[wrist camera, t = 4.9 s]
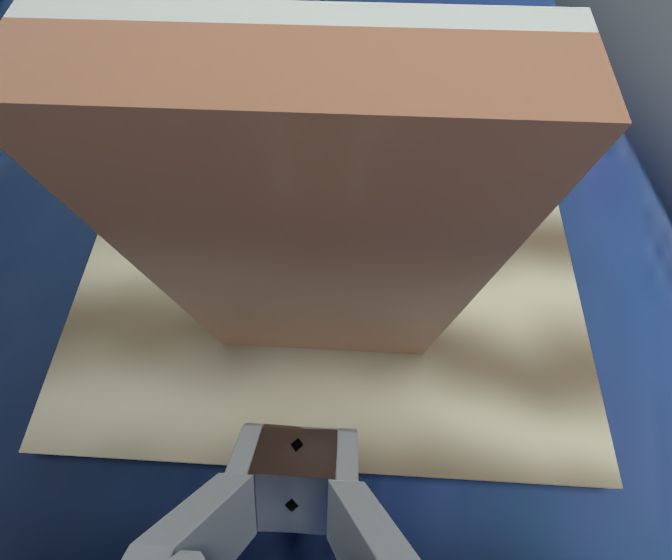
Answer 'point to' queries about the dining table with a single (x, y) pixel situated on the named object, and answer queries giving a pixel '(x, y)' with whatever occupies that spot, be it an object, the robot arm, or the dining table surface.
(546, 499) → the dining table surface
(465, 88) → the tile
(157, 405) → the board
